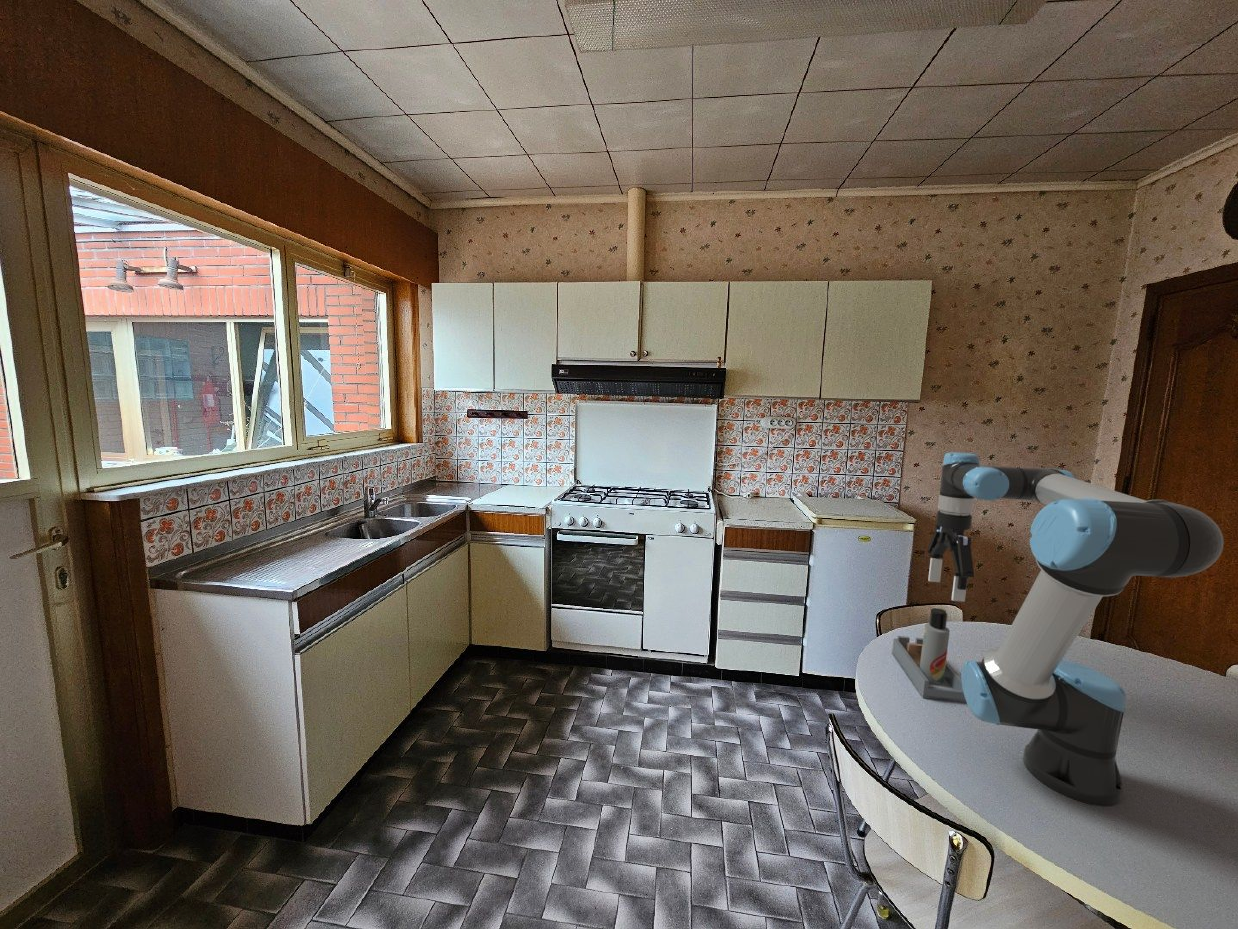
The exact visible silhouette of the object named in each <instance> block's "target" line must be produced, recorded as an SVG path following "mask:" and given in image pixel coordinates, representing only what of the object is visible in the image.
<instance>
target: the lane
mask: <svg viewBox="0 0 1238 929" xmlns="http://www.w3.org/2000/svg"><path fill="white" fill-rule="evenodd" d="M910 640H911V639H910V637H909V636H904V635H897V638H893V640H892V641H893V642H892V652H891V654H892V656H893V657H894V659H895V661H896V662H897V663H898V665H899V667H900V668H901V669H902V670H903V672H904V674H905V675H906V676H907V678H908V679H909V681H910V682H911V684H912V685H913V686H914V688H915V689H916V692H918V694H919V696H920V697H921V698H922V699H923V700H924V699H925V700H931V699H932V700H933V701H940V700H942V701H943V702H949V701H950V702H951V703H959V704H967V702H966V699H965V696H964V692H963V688H962V681H961V676H960V675H959V673H958V672H957V671H956V670H955V669H954V668H953V667H952V666H951V664H950V663H948V661H947V660H946V664H945V672H944V680H943V683H942V684H941V685H933V684H929V680H928V679H927V678H926V676H925V675H924V674H923V672H922V671H921V670H920V666H918V665H917V664H916V663H915V662H914V660H913V659H912V658H911V656H910V655H909V654H908V652H907V645H908V643H910ZM914 643H915V644H923V637H915V641H914ZM932 700H931V701H932Z"/></svg>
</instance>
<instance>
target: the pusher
mask: <svg viewBox="0 0 1238 929" xmlns="http://www.w3.org/2000/svg"><path fill="white" fill-rule="evenodd" d="M922 645H923V644H915V642H909V643H908V645H907V652H908V654H909V655H910V656H911V658H912V659H913V660H914V662H915V663H916V664H917V665H918V666H920V661H921V653H922Z"/></svg>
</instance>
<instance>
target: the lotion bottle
mask: <svg viewBox="0 0 1238 929" xmlns="http://www.w3.org/2000/svg"><path fill="white" fill-rule="evenodd" d="M929 614H930V615H929V620H928V621H929V622H927V623H925V624H924V629H923V630H924V631H923V637H922V638H923V645H922V653H921V661H920V670H921V671H922V672H923V674H924V675H925V676H926V678H927V679H928V680H929V684H933V685H941V684H942V683H943V680H944V672H945V664H946V661H947V655H948V647H949V639H950V629H949V627H947V620H948V612H947V611H946V610H945V609H942V608H935V607H934V608H931V609H930V613H929Z"/></svg>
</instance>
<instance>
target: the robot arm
mask: <svg viewBox="0 0 1238 929" xmlns="http://www.w3.org/2000/svg"><path fill="white" fill-rule="evenodd" d="M975 498H976V499H978V500H983V501H989V502H990V501H995V500H998V499H1000V500H1001V499H1002V500H1005V499H1006V500H1021V501H1033V502H1037V503H1040V504H1042V505H1044V507H1043V508H1042V509H1040V510H1039V512H1038V513H1037V514H1036V516H1035V517H1034V519H1033V522H1032V524H1031V527H1030V531H1029V532H1030V534H1031V537H1030V538H1029V546H1030V549H1031V553H1032V555H1033V556H1034V558H1035V562H1036V565H1037V566H1038V568H1039V569H1040V571H1039V572H1038V574H1037V577H1036V579H1035V581H1034V583H1033V585H1032V586H1031V588H1030V590H1029V592H1028V594H1027V596H1026V597H1025V600H1024V601H1023V603H1022V605H1021V607H1020V609H1019V611H1018V613H1017V614H1016V616H1015V619H1014V620H1013V622H1012V623H1011V626H1010V627H1009V629H1008V631H1007V633H1006V635H1005V637H1004V639H1003V640H1002V643H1001V644H1000V646H996V647H993V648H990V649H988V650H987V651H986V652H985V654H984V656H983V657H982V660H981V661H976V660H966V661H965V662H964V663H963V664H962V666H961V667H962V668H961V671H960V675H961V676H960V677H961V681H962V688H963V692H964V696H965V699H966V704H967V706H968V708H969V710H970V712H971V713H972V715H973V716H974V717H975V718H977V719H978V720H980V721H981V722H984V723H989V724H995V725H997V726H1006V727H1016V728H1023V729H1024V728H1025V729H1032V730H1036V732H1035V733H1034V735H1033V736H1032V737H1031V739H1030V741H1029V742H1028V744H1026V745H1025V747H1024V749H1023V750H1024V751H1023V757H1022V761H1023V764H1024V766H1025V768H1026V769H1027V770H1028V772H1029V773H1030V774H1031V775H1032V776H1033V777H1035V779H1037V781H1039V782H1040V783H1042V784H1044V785H1045V786H1047V787H1049V788H1050V789H1052V790H1054V791H1056V792H1058V793H1059V794H1061V795H1063V796H1065V797H1067V798H1070V799H1073V800H1075V801H1079V802H1081V803H1085V804H1088V805H1093V806H1097V807H1113V806H1116V805H1118V804H1120V803H1121V801H1122V798H1123V793H1124V792H1123V791H1124V786H1123V781H1122V778H1121V774H1120V770H1119V766H1118V763H1117V758H1116V756H1117V751H1118V744H1119V741H1120V740H1119V739H1120V735H1121V730H1122V729H1121V728H1122V723H1123V718H1124V714H1125V713H1126V710H1127V709H1126V697H1127V696H1126V691H1125V690H1124V688H1123V687H1122V685H1120V684H1119V683H1118V682H1117V681H1115V680H1114V679H1112V678H1111V677H1109V676H1108V675H1106V674H1104V673H1102V672H1100V671H1097V670H1096V669H1093V668H1090V667H1088V666H1086V665H1082V664H1080V663H1076V662H1073V661H1070V660H1065V659H1064V657H1065V655H1066V654H1067V652H1068V651H1069V650H1070V648H1071V646H1072V645H1073V643H1074V642H1075V641H1076V639H1077V637H1078V635H1080V632H1081V631H1082V629H1083V628H1084V626H1085V625H1086V624H1087V621H1088V620H1089V619H1090V617H1091V616H1092V614H1093V613H1094V611H1095V609H1096V608H1097V606H1098V605H1099V603H1100V602H1101V600H1102V598H1103V597H1112V596H1116V595H1119V594H1120V593H1121V592H1122V591H1123V590H1124V589H1125V587H1126V586H1127V584H1128V583H1129V582H1130V580H1131V578H1132V577H1134V576H1141V577H1156V578H1180V577H1188V576H1191V575H1192V576H1193V575H1195V574H1199V573H1200V572H1203V571H1205V570H1206V569H1209V567H1211V566H1212V565H1213V564H1214V563H1216V562H1217V561H1218V559H1219V558H1220V556H1221V555H1222V552H1223V550H1224V536H1223V533H1222V530H1221V529H1220V526H1219V525H1218V524H1217V523H1216V522H1215V521H1214V520H1213V519H1212V518H1211V517H1210V516H1209V515H1207V514H1206V513H1204V512H1202V511H1201V510H1199V509H1198V510H1197V508H1194V507H1190V506H1187V505H1183V504H1179V503H1176V502H1172V501H1169V500H1165V499H1150V500H1149V499H1148V500H1146V499H1141V498H1138V497H1135V496H1132V495H1129V494H1126V493H1123V492H1120V491H1117V490H1112V489H1109V488H1106V487H1103V486H1100V485H1097V484H1094V483H1090V482H1086V481H1084V480H1081V479H1078V478H1076V476H1074V474H1073V473H1072V472H1071V471H1070V470H1066V469H1058V468H1053V467H1052V468H1051V467H1050V468H1049V467H1048V468H1035V467H1033V468H1032V467H1031V468H1030V467H1016V466H1015V467H1014V466H995V465H993V466H991V465H982V464H980V457H979V455H977V454H976V453H968V452H959V451H958V452H956V451H954V452H952V451H951V452H947V453H945V455H944V457H943V461H942V465H941V478H940V488H939V495H938V503H937V509H938V511H937V513H936V522H935V527H934V528H935V529H934V532H933V533H932V537H931V539H930V541H929V545H928V548H927V549H926V552H927V554H929V557H930V562H929V569H928V570H929V572H928V582H931V583H933V582H934V583H940V582H941V578H942V568H943V559H944V554H945V553H946V551H947V549H948V551H949V552H951V556H952V560H953V563H954V564H953V565H954V568H955V573H954V574H953V585H952V591H951V592H952V593H951V601H952V602H963V603H965V601H966V596H967V594H966V593H967V585H968V579H969V578H974V577H975V572H974V571H975V570H974V564H973V553H972V548H971V546H972V543H971V541H972V538H971V536H965V534H964V533H965V531H968V530H970V529H971V527H972V520H973V516H972V515H971V514H972V513H973V510H974V505H975V504H976V500H975Z"/></svg>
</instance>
